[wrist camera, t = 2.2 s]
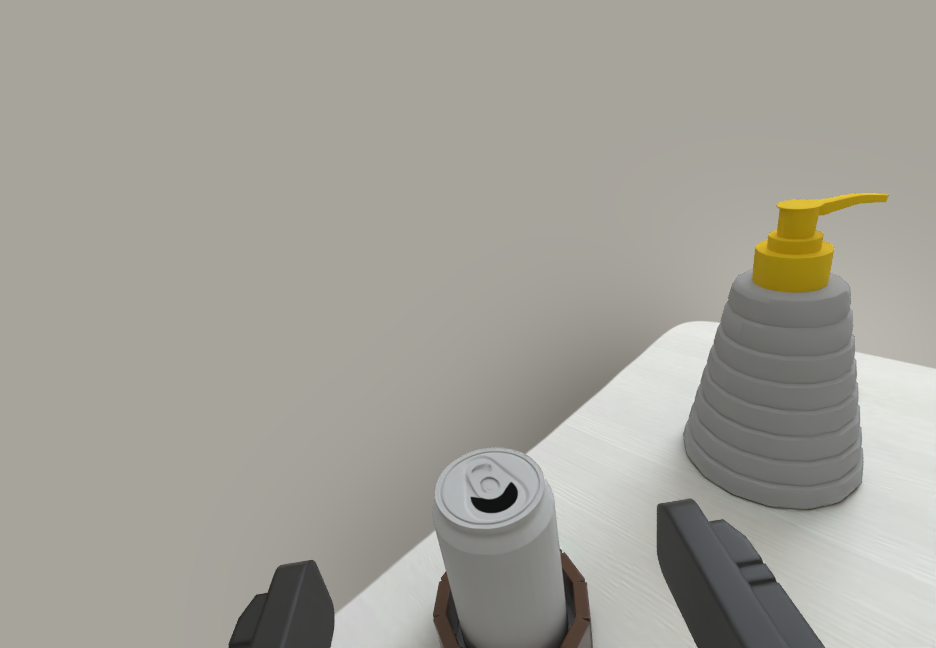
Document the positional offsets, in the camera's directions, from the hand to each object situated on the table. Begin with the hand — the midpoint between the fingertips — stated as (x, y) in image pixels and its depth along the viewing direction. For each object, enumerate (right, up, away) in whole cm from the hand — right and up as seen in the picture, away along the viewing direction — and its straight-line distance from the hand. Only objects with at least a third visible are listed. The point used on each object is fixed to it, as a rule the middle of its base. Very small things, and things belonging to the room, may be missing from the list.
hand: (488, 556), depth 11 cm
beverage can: (+3, -14, +18) cm, 23 cm away
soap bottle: (+24, -5, +28) cm, 37 cm away
